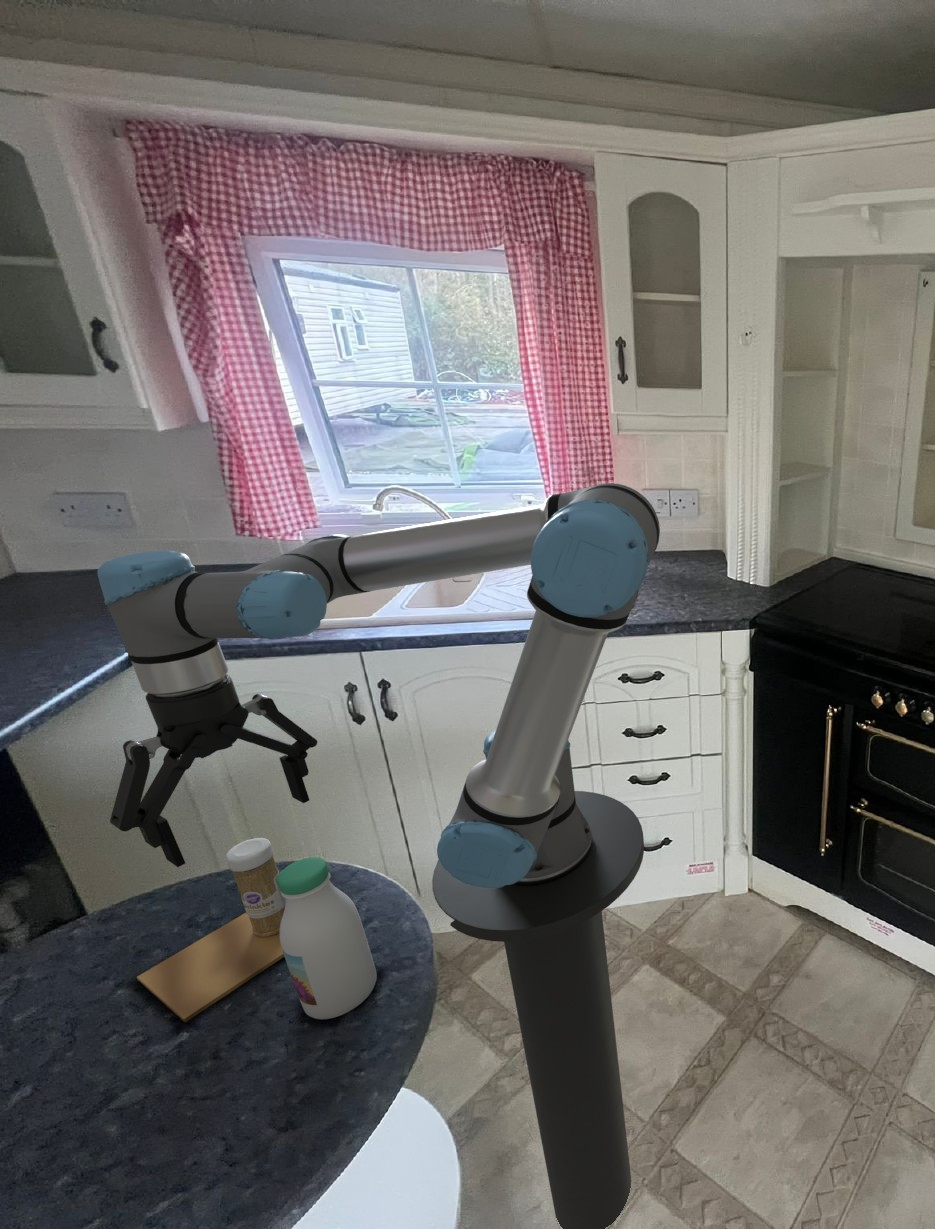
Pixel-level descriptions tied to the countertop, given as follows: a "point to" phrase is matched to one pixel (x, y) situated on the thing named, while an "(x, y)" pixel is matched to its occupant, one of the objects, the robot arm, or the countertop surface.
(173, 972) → the cork mat
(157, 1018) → the countertop surface
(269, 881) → the sprinkles bottle
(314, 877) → the milk bottle
